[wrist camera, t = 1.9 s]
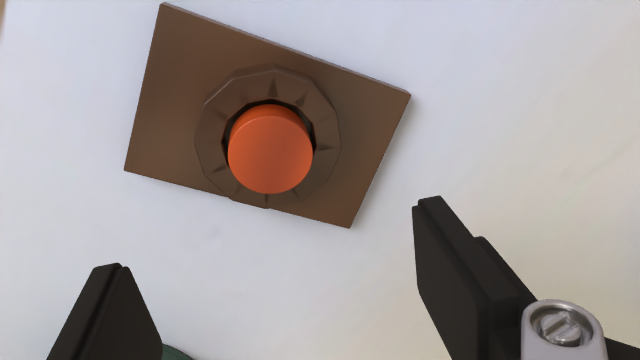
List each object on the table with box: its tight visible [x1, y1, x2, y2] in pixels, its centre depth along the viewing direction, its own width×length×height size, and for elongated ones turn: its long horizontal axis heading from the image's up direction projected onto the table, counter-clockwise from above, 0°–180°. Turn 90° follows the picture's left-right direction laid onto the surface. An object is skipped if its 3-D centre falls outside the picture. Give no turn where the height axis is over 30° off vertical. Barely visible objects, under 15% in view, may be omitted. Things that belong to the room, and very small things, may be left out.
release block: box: [124, 2, 411, 229], centre depth 21 cm, size 12×8×2 cm, turn 69°
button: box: [228, 104, 313, 194], centre depth 20 cm, size 4×4×2 cm
